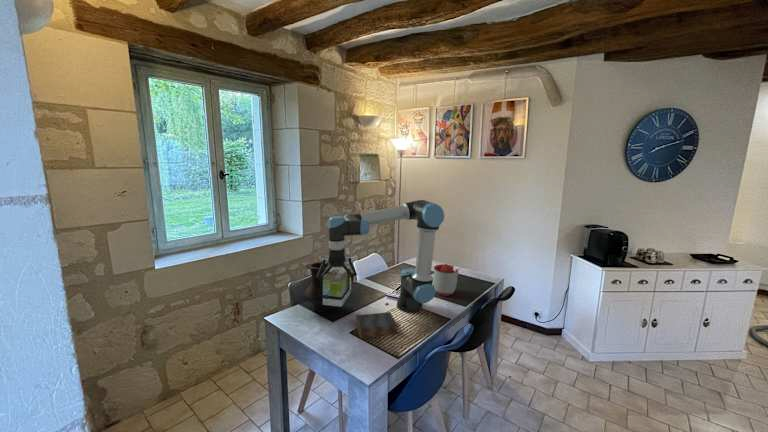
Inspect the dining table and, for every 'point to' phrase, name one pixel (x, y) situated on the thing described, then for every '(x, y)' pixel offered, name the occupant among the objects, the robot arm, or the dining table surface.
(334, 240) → the robot arm
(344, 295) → the tea box
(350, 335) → the dining table surface
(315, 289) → the jug
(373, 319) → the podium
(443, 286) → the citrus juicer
